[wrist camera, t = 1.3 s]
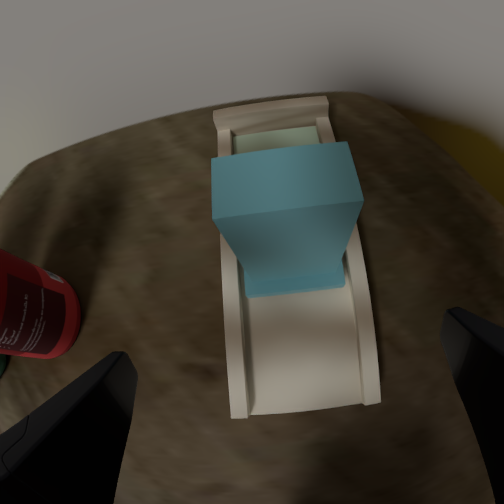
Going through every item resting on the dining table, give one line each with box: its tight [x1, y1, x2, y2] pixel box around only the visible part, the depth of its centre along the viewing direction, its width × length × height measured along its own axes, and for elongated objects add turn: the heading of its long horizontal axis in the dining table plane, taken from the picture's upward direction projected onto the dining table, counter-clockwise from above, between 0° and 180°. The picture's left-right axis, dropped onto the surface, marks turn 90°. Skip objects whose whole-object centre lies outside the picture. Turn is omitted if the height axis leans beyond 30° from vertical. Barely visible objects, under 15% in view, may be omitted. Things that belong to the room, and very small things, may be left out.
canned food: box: [0, 249, 81, 359], centre depth 17 cm, size 8×8×11 cm
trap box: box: [213, 96, 381, 418], centre depth 20 cm, size 22×9×4 cm, turn 4°
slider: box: [211, 141, 364, 298], centre depth 15 cm, size 4×6×10 cm, turn 94°
